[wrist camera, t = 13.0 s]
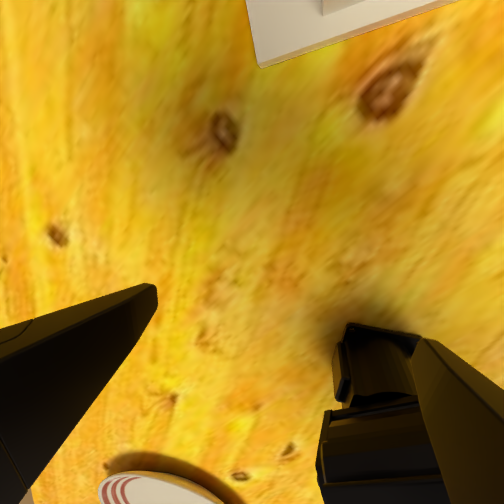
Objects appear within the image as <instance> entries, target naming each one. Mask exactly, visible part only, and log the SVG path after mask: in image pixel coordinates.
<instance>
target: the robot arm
mask: <svg viewBox="0 0 504 504" xmlns="http://www.w3.org/2000/svg"><path fill="white" fill-rule="evenodd" d="M157 307H158V297H157V288H156V286H155V285H153V284H148V283H143V284H139V285H136V286H133V287H130V288H127V289H124V290H121V291H118V292H114V293H111V294H108V295H105V296H102V297H99V298H96V299H93V300H90V301H86V302H83V303H80V304H77V305H74V306H71V307H68V308H65V309H61V310H58V311H55V312H52V313H49V314H46V315H43V316H40V317H37V318H35V319H34V320H33V319H30V320H27V321H24V322H21V323H18V324H14V325H11V326H8V327H5V328H1V329H0V504H19V503H20V501H21V500H22V499H23V497H24V496H25V494H26V493H27V492H28V489H29V488H30V487H31V486H32V485H33V483H34V482H35V481H36V479H37V478H38V477H39V475H40V474H41V472H42V471H43V470H44V468H45V467H46V466H47V464H48V463H49V462H50V460H51V459H52V458H53V456H54V455H55V453H56V452H57V451H58V449H59V448H60V447H61V445H62V444H63V443H64V441H65V440H66V439H67V437H68V436H69V435H70V433H71V432H72V430H73V429H74V428H75V426H76V425H77V424H78V422H79V421H80V420H81V418H82V417H83V416H84V414H85V413H86V411H87V410H88V409H89V407H90V406H91V405H92V403H93V402H94V401H95V399H96V398H97V397H98V395H99V394H100V393H101V391H102V390H103V388H104V387H105V386H106V384H107V383H108V382H109V380H110V379H111V378H112V376H113V375H114V374H115V372H116V371H117V370H118V368H119V367H120V365H121V364H122V363H123V361H124V360H125V359H126V357H127V356H128V355H129V353H130V352H131V351H132V349H133V348H134V346H135V345H136V343H137V342H138V340H139V339H140V337H141V335H142V334H143V332H144V330H145V328H146V327H147V325H148V323H149V322H150V320H151V318H152V317H153V315H154V313H155V312H156V310H157ZM350 328H354V329H353V330H350ZM417 342H418V343H417ZM332 372H333V384H334V396H335V399H336V401H338V402H342V409H339V410H334V411H332V410H326V411H325V412H324V418H323V423H322V429H321V434H320V439H319V445H318V450H317V457H316V463H315V466H316V471H317V482H318V485H319V487H320V490H321V494H322V497H323V501H324V504H504V390H503V389H502V388H500V387H499V386H498V385H496V384H495V383H494V382H492V381H491V380H490V379H488V378H487V377H486V376H484V375H483V374H481V373H480V372H479V371H477V370H476V369H475V368H473V367H472V366H471V365H469V364H468V363H467V362H465V361H464V360H463V359H461V358H460V357H459V356H457V355H456V354H455V353H453V352H452V351H451V350H449V349H448V348H447V347H445V346H444V345H443V344H441V343H440V342H438V341H437V340H433V339H428V338H422V337H420V336H415V335H410V334H405V333H400V332H395V331H390V330H385V329H380V328H375V327H370V326H365V325H360V324H355V323H349V324H347V325H346V327H345V330H344V334H343V337H342V341H341V342H338V343H337V345H336V349H335V352H334V356H333V359H332Z"/></svg>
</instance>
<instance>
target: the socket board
mask: <svg viewBox="0 0 504 504" xmlns="http://www.w3.org/2000/svg"><path fill="white" fill-rule="evenodd" d="M456 1H458V0H246V5H247V10H248V15H249V21H250V26H251V31H252V37H253V42H254V47H255V53H256V58H257V63H258V65H259V67H260V68H261V69H262V68H265V67H268V66H271V65H274V64H277V63H280V62H283V61H285V60H288V59H291V58H294V57H297V56H300V55H303V54H306V53H309V52H311V51H314V50H317V49H320V48H323V47H326V46H329V45H332V44H334V43H337V42H340V41H343V40H346V39H349V38H352V37H355V36H358V35H360V34H363V33H366V32H369V31H372V30H375V29H378V28H381V27H383V26H386V25H389V24H392V23H395V22H398V21H401V20H404V19H407V18H409V17H412V16H415V15H418V14H421V13H424V12H427V11H430V10H432V9H435V8H438V7H441V6H444V5H447V4H450V3H453V2H456Z"/></svg>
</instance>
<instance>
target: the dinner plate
mask: <svg viewBox="0 0 504 504" xmlns="http://www.w3.org/2000/svg"><path fill="white" fill-rule="evenodd" d="M98 496H99V500H100V502H101V504H224V503H223V502H222V501H221V500H220V499H219V498H218V497H216V496H215V495H214V494H213V493H211V492H210V491H209V490H207V489H205V488H204V487H202V486H201V485H199V484H197V483H195V482H193V481H191V480H188V479H186V478H183V477H180V476H177V475H173V474H169V473H163V472H150V471H127V472H121V473H117V474H114V475H111V476H109V477H107V478H105V479H104V480H103V481H102V482H101V483H100V485H99V488H98Z"/></svg>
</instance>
